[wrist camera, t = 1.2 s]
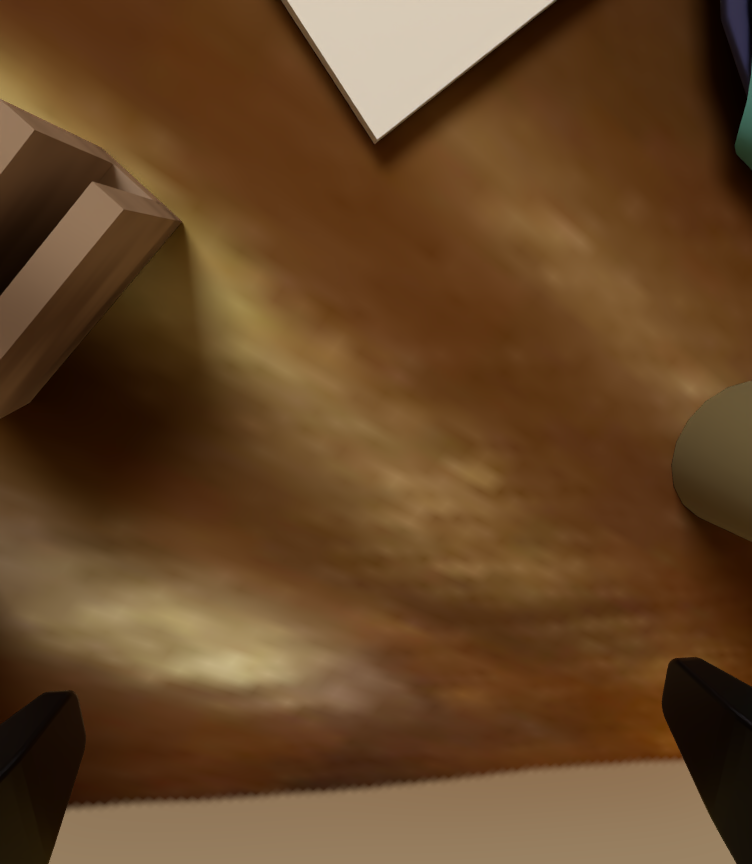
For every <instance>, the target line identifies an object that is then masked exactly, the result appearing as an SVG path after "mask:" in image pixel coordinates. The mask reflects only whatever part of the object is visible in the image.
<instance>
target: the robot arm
mask: <svg viewBox="0 0 752 864" xmlns="http://www.w3.org/2000/svg"><path fill="white" fill-rule="evenodd" d="M662 709H663V713H664V717H665V719H666V721H667V724H668V726H669V728H670V730H671V732H672V735H673V737H674V739H675V741H676V743H677V746H678V748H679V750H680V752H681V754H682V756H683V759H684V761H685V763H686V765H687V767H688V769H689V772H690V774H691V776H692V778H693V780H694V782H695V785H696V787H697V789H698V791H699V794H700V796H701V798H702V800H703V802H704V804H705V806H706V808H707V810H708V813H709V815H710V817H711V819H712V821H713V822H714V824H715V826H716V828H717V830H718V832H719V833H720V835H721V837H722V839H723V841H724V842H725V844H726V846H727V848H728V849H729V851H730V853H731V855H732V856H733V858H734V860H735V862H736V863H737V864H752V687H751V686H749V685H747V684H746V683H744V682H742V681H740V680H738V679H737V678H735V677H733V676H731V675H729V674H728V673H726V672H724V671H722V670H720V669H719V668H717V667H715V666H713V665H712V664H710V663H708V662H706V661H704V660H702V659H700V658H697V657H689V658H675V659H673V660H671V661H670V663H669V665H668V669H667V674H666V680H665V685H664V691H663V696H662ZM85 743H86V734H85V728H84V723H83V718H82V713H81V709H80V704H79V699H78V696H77V694H76V693H75V692H73V691H70V690H68V691H50V692H45V693H43V694H42V695H40V696H38V697H37V698H36V699H34V700H33V701H32V702H30V703H29V704H28V705H26V706H25V707H23V708H22V709H21V710H19V711H18V712H17V713H15V714H14V715H13V716H11V717H10V718H9V719H7V720H6V721H5V722H3V723H2V724H0V864H48V863H49V860H50V857H51V854H52V851H53V849H54V846H55V842H56V839H57V836H58V833H59V830H60V827H61V823H62V820H63V817H64V814H65V811H66V808H67V804H68V801H69V798H70V795H71V792H72V788H73V785H74V782H75V779H76V776H77V773H78V769H79V766H80V763H81V760H82V757H83V753H84V750H85Z"/></svg>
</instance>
